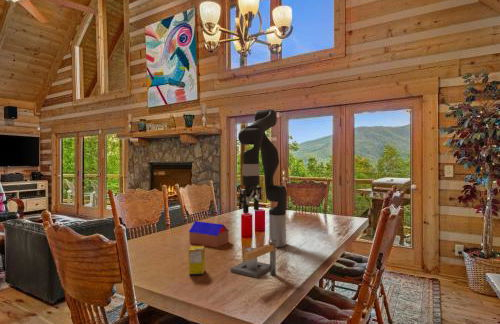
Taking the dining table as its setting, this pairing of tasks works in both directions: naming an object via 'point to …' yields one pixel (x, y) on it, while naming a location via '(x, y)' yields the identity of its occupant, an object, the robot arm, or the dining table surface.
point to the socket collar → (253, 273)
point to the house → (208, 234)
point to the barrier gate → (263, 250)
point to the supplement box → (196, 260)
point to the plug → (251, 261)
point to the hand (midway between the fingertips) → (251, 211)
